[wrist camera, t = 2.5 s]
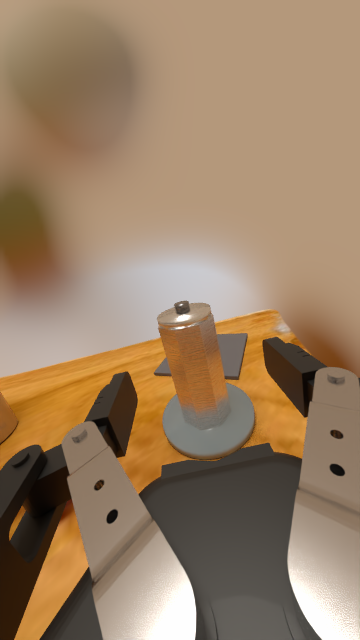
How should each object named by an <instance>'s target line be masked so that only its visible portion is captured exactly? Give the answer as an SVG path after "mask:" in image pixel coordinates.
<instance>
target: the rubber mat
mask: <svg viewBox="0 0 360 640" xmlns="http://www.w3.org/2000/svg"><path fill="white" fill-rule="evenodd" d="M217 339H218V344H219V350H220V355H221V360H222V366H223V371H224V377H225V379H235V380H238V379H239V374H240V369H241V364H242V360H243V355H244V350H245V345H246V340H247V333H241V334H218V335H217ZM154 375H160V376H172V375H171V371H170V368H169V364H168V361H167V357H166V358H165V359H164V361H163V362H162V363H161V364H160V366H159V367H158V368H157V369H156V371H155V372H154Z"/></svg>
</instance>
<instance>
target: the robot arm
mask: <svg viewBox="0 0 360 640" xmlns="http://www.w3.org/2000/svg"><path fill="white" fill-rule="evenodd" d="M263 352H264V360H265V366H266V369H267V371H268V373H269V375H270V376H271V377H272V378H273V380H274V381H275V382H276V383H277V385H278V386H279V387H280V388H281V389H282V391H283V392H284V393H285V394H286V396H287V397H288V398H289V399H290V400H291V402H292V403H293V404H294V405H295V407H296V408H297V409H298V410H299V411H300V413H301V414H302V415H303V416H304V418H305V417H308V420H307V427H306V435H305V443H304V451H303V458H302V459H301V458H298V457H296V456H293V455H289V454H285V453H279V452H273V450H272V448H271V446H270V444H269V443H265V444H260V445H256V446H251V447H246V448H242V449H240V450H238V451H236V452H234V453H232V454H230V455H228V456H226V457H224V458H222V459H220V460H218V461H197V460H186V461H181V462H176V463H172V464H167V465H162V473H161V477H159V478H157V479H156V480H154V481H153V482H151V483H150V484H149V485H148V486H146V487H145V488H144V489H143V490H142V491H141V492H140V493H139V495H138V493H137V492H136V490H135V488H134V487H133V485H132V483H131V482H130V480H129V478H128V477H127V475H126V473H125V471H124V470H123V468H122V466H121V465H120V463H119V461H118V460H117V458H118V457H123V456H125V454H126V450H127V446H128V441H129V437H130V433H131V429H132V425H133V420H134V416H135V412H136V408H137V403H138V399H137V394H136V391H135V388H134V385H133V382H132V380H131V377H130V374H129V373H128V372H123V373H118V374H115V375H114V376H113V378H112V380H111V382H110V384H108V385H106V386H105V387H104V388H103V389H102V390H101V391H100V393H99V395H98V397H97V399H96V400H95V402H94V405H93V406H92V408H91V410H90V412H89V414H88V415H87V417H86V419H85V421H84V422H83V423H81V424H79V425H77V426H75V427H74V428H73V429H71V430H70V431H69V432H68V433H67V434H66V435H65V437H64V438H63V441H62V444H60V445H58V446H56V447H54V448H52V449H50V450H48V451H45V452H44V451H43V450H42V448H41V446H39V445H32V446H29V447H27V448H25V449H23V450H21V451H19V452H18V453H17V454H15V455H14V456H13V457H12V458H11V459H10V460H9V461H8V462H7V463H6V464H5V465H4V466H3V468H2V469H1V470H0V640H14V638H15V636H16V633H17V631H18V628H19V625H20V623H21V620H22V618H23V615H24V612H25V610H26V607H27V604H28V602H29V599H30V597H31V594H32V591H33V589H34V586H35V584H36V581H37V578H38V576H39V573H40V571H41V568H42V565H43V563H44V560H45V558H46V555H47V552H48V550H49V547H50V545H51V542H52V539H53V537H54V534H55V531H56V529H57V526H58V524H59V521H60V518H61V516H62V513H63V511H64V508H65V505H66V503H67V501H68V500H70V499H72V501H73V505H74V509H75V513H76V517H77V521H78V525H79V529H80V533H81V536H82V540H83V544H84V548H85V552H86V556H87V560H88V564H89V567H88V569H87V570H86V572H85V573H84V575H83V576H82V578H81V579H80V581H79V582H78V584H77V585H76V587H75V588H74V589H73V591H72V592H71V594H70V595H69V597H68V598H67V600H66V601H65V603H64V604H63V606H62V607H61V609H60V610H59V612H58V613H57V615H56V616H55V617H54V619H53V620H52V622H51V623H50V625H49V626H48V628H47V629H46V631H45V632H44V634H43V635H42V637H41V638H40V640H360V378H357V376H356V375H355V374H353V373H352V372H350V371H347V370H345V369H341V368H336V367H327V366H325V365H324V364H323V363H321V362H320V361H318V360H317V359H316V358H314V357H313V356H310V354H309V353H307V352H305V351H304V350H303V349H302V348H300V347H299V346H297V345H294V344H291V343H284V342H283V341H282V340H281V339H279V338H278V337H274V338H269V339H265V340H263ZM17 423H18V420H17V418H16V416H15V415H14V413H13V411H12V410H11V408H10V407H9V405H8V403H7V401H6V400H5V398H4V397H3V395H2V393H1V392H0V443H1V442H3V441H4V440H5V439H6V438H7V437H8V436H9V435H10V434H11V433H12V431H13V430H14V429H15V427H16V426H17ZM22 505H23V507H24V508H25V510H26V512H25V514H24V516H23V517H22V519H21V521H20V523H19V525H18V527H17V529H16V531H15V532H14V534H13V536H12V538H11V540H10V541H9V531H10V527H11V525H12V523H13V521H14V519H15V517H16V515H17V513H18V512H19V510H20V508H21V506H22Z"/></svg>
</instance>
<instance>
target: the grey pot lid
mask: <svg viewBox="0 0 360 640" xmlns="http://www.w3.org/2000/svg"><path fill="white" fill-rule="evenodd" d="M226 387H227V393H228V398H229V403H230V409H231V413H230V414H229V416H228V417H227V418H226V420H225V421H224V423H223V424H222V425H221V426H220V427H215V428H211V429H206V430H201V431H200V430H198V429H196V428H195V427H193V426H191V425H189V424H188V423H186V422H185V420H184V417H183V413H182V410H181V406H180V403H179V399H178V396H177V394H176V395H175V396H174V397H173V398H172V399H171V400H170V402H169V403H168V405H167V406H166V408H165V411H164V414H163V428H164V431H165V434H166V437H167V439H168V441H169V443H170V444H171V445H172V446H173V447H174V448H175V449H176V450H177V451H178V452H180V453H181V454H183V455H185V456H187V457H191V458H194V459H200V460H211V459H218V458H222V457H225V456H227V455H230V454H232V453H234V452H235V451H237V450H238V449H240V448H241V447H242V446H243V445H244V444H245V443H246V442H247V440H248V439H249V438H250V436H251V434H252V432H253V429H254V425H255V415H254V408H253V405H252V402H251V400H250V398H249V397H248V396H247V394H246V393H245V392H243V391H242V390H241V389H239V388H238V387H236V386H234V385H231V384H228V383H226Z"/></svg>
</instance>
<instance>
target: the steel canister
mask: <svg viewBox="0 0 360 640" xmlns="http://www.w3.org/2000/svg"><path fill="white" fill-rule="evenodd" d="M174 306H175V307H174V308H171V309H168V310H166V311H164V312H162V313H161V314H160V315H159V316H158V317H157V320H158V324H159V328H158V329H159V332H160V336H161V339H162V343H163V346H164V350H165V354H166V357H167V361H168V364H169V368H170V371H171V375H172V378H173V382H174V385H175V389H176V392H177V396H178V399H179V403H180V406H181V410H182V413H183V417H184V420H185V422H186V423H188V424H189V425H191V426H193V427H195V428H196V429H198V430H200V431H201V430H206V429H211V428H215V427H220V426H221V425H222V424H223V423H224V421H225V420H226V418H227V417H228V416H229V414H230V413H231V409H230V403H229V398H228V393H227V387H226V382H225V377H224V371H223V366H222V360H221V355H220V350H219V344H218V339H217V334H216V328H215V323H214V318H213V315H212V313H211V310H210V305H208V304H206V303H191V304H189V302H188V301H181V302H178V303H175V304H174Z"/></svg>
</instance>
